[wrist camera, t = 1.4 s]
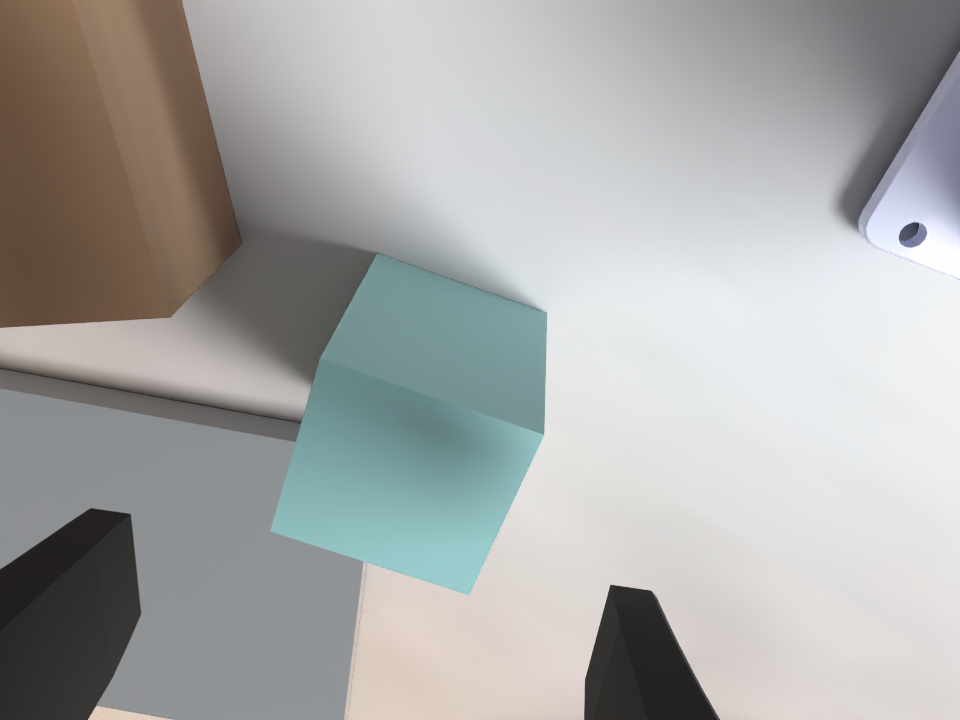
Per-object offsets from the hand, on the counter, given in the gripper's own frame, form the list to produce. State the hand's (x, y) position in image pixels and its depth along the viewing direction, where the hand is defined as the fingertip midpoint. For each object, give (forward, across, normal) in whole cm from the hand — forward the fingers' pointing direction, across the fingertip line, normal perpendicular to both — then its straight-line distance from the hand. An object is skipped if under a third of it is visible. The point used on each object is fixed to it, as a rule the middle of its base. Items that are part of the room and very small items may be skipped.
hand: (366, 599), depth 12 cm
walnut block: (+8, +7, -5) cm, 12 cm away
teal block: (+8, 0, 0) cm, 8 cm away
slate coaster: (+8, +7, +8) cm, 13 cm away
